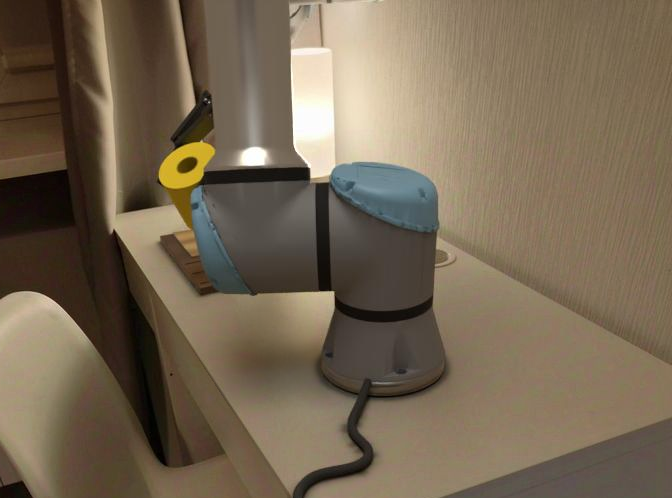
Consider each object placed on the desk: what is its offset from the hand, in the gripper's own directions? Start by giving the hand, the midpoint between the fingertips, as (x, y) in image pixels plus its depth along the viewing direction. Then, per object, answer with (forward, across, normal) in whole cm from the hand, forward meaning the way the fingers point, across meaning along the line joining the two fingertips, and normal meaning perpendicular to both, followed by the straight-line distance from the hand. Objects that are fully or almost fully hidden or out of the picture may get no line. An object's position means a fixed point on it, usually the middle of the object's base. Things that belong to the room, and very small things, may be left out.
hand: (180, 193), depth 117 cm
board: (+4, -5, -10) cm, 12 cm away
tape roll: (-1, +1, -7) cm, 8 cm away
